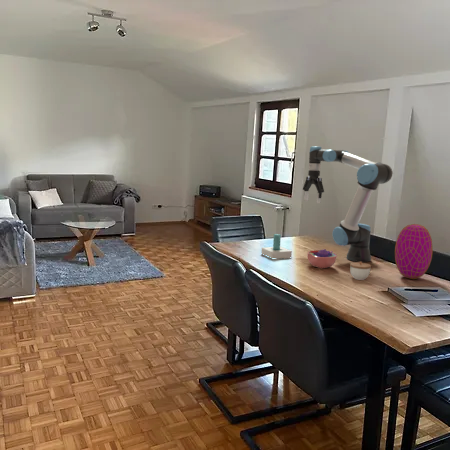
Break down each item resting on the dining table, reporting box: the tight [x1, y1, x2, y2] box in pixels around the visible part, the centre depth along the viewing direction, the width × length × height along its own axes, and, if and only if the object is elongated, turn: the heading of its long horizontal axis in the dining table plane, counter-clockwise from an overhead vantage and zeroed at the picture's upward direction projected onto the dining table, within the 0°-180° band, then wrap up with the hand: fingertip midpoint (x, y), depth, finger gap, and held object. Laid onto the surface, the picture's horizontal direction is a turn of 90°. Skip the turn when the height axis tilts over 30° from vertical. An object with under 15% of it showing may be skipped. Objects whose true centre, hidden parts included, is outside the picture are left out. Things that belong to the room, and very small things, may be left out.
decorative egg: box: [394, 223, 433, 280], centre depth 258 cm, size 19×19×30 cm
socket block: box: [261, 246, 293, 259], centre depth 302 cm, size 14×14×4 cm
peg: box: [272, 233, 282, 251], centre depth 301 cm, size 4×4×14 cm
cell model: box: [306, 248, 338, 269], centre depth 277 cm, size 17×20×11 cm
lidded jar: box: [349, 261, 372, 281], centre depth 256 cm, size 11×11×9 cm
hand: (312, 201), depth 315 cm, fingers open, 13 cm apart
